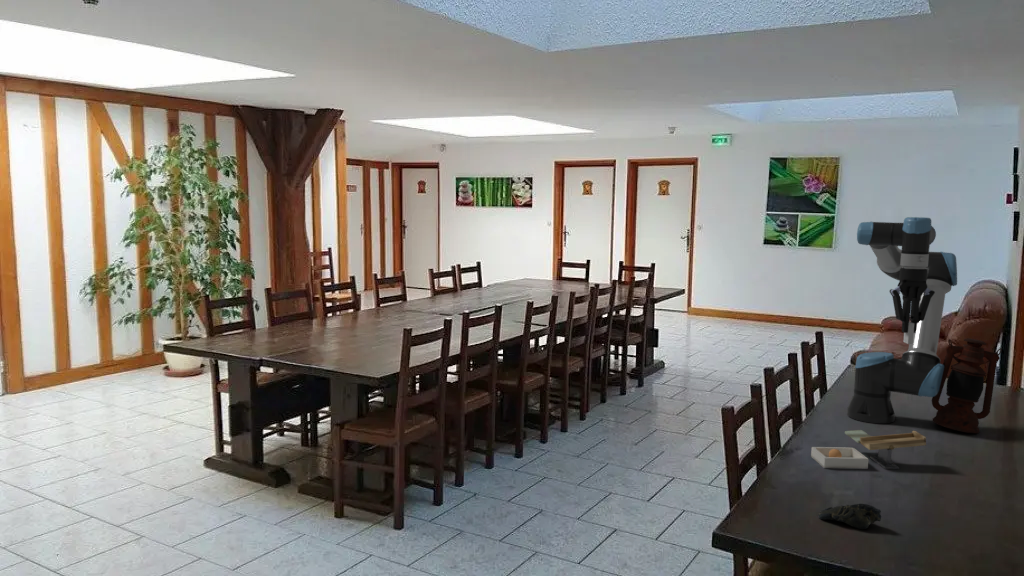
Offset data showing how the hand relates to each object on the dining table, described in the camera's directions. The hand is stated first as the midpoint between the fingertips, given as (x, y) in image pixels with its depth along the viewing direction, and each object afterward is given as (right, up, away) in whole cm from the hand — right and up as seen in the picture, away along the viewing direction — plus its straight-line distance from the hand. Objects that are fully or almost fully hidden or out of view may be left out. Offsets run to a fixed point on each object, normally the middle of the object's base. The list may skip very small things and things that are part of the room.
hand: (908, 342), depth 224 cm
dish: (-28, -34, -14) cm, 46 cm away
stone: (-44, -39, -54) cm, 79 cm away
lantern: (+27, -30, +19) cm, 45 cm away
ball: (-29, -32, -14) cm, 45 cm away
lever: (-13, -28, -10) cm, 32 cm away
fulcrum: (-15, -34, -14) cm, 40 cm away
